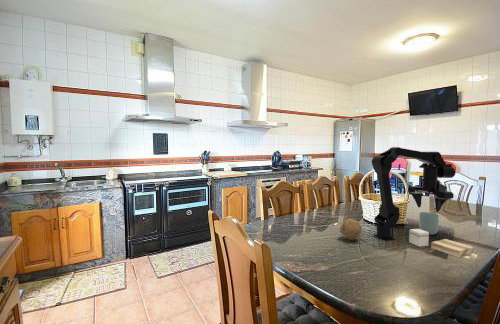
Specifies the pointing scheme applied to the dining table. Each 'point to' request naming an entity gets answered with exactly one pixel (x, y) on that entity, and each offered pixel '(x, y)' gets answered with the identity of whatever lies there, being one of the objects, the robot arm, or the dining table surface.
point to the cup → (429, 222)
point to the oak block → (452, 247)
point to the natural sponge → (350, 229)
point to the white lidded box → (419, 237)
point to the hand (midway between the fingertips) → (428, 209)
